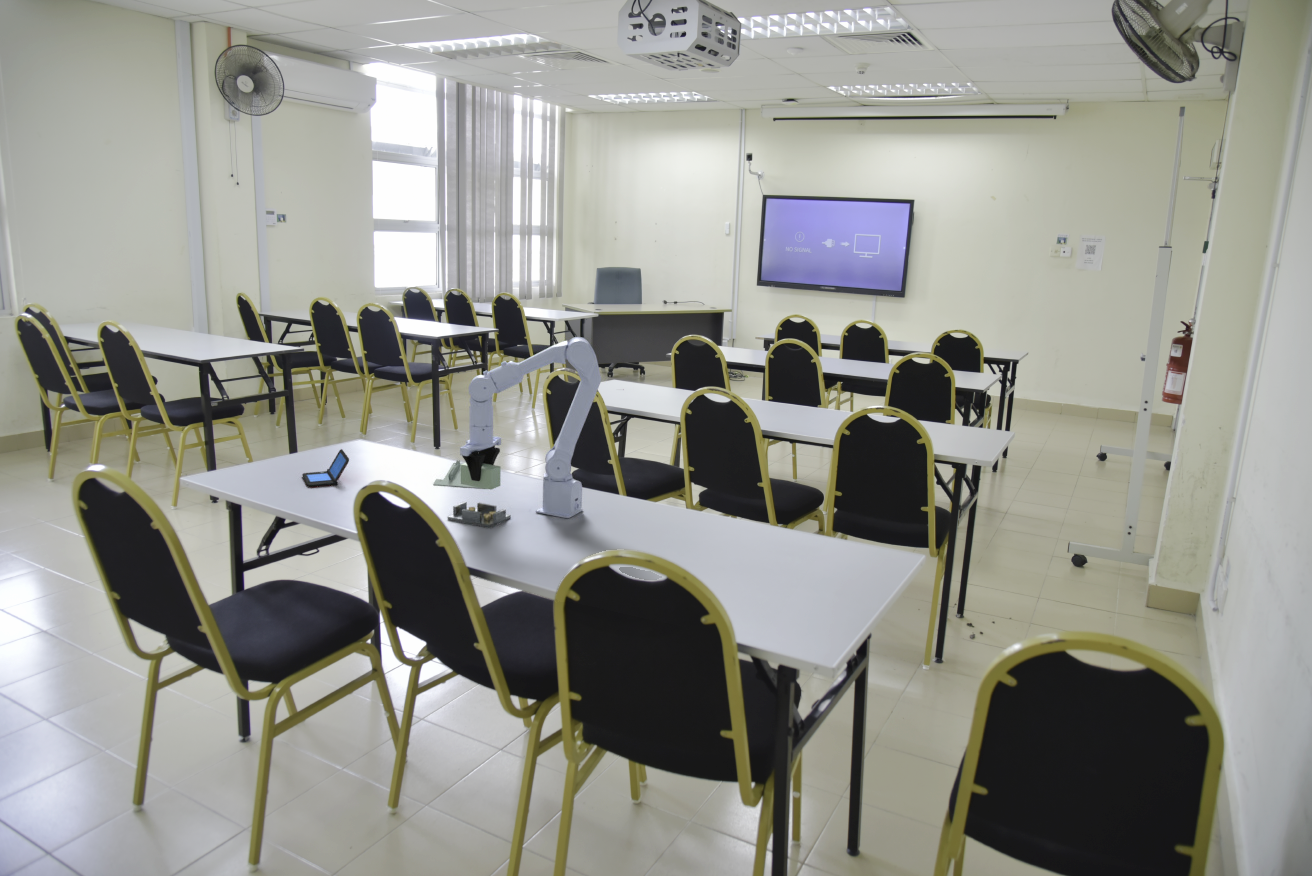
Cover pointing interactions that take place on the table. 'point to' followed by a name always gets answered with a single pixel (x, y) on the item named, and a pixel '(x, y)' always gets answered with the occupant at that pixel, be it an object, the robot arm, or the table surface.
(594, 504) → the table surface
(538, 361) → the robot arm
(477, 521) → the chassis
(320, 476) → the handheld game console
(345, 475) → the table surface
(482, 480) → the pale green box
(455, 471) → the metal bracket
